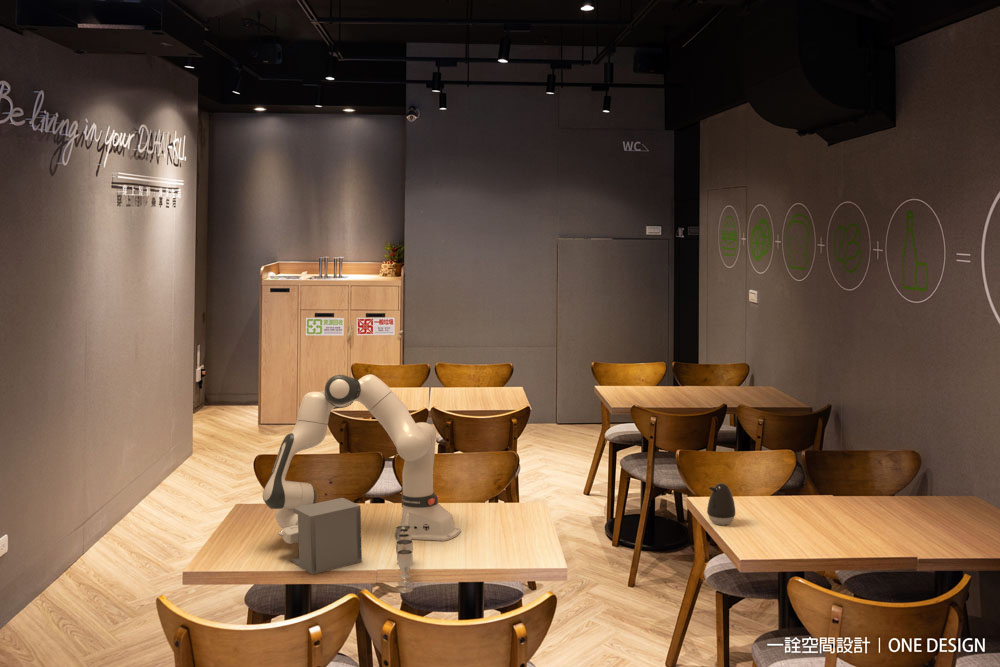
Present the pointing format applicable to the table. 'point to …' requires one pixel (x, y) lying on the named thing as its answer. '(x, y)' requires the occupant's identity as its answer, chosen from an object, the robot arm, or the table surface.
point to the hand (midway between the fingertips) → (323, 536)
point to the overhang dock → (328, 535)
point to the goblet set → (404, 555)
